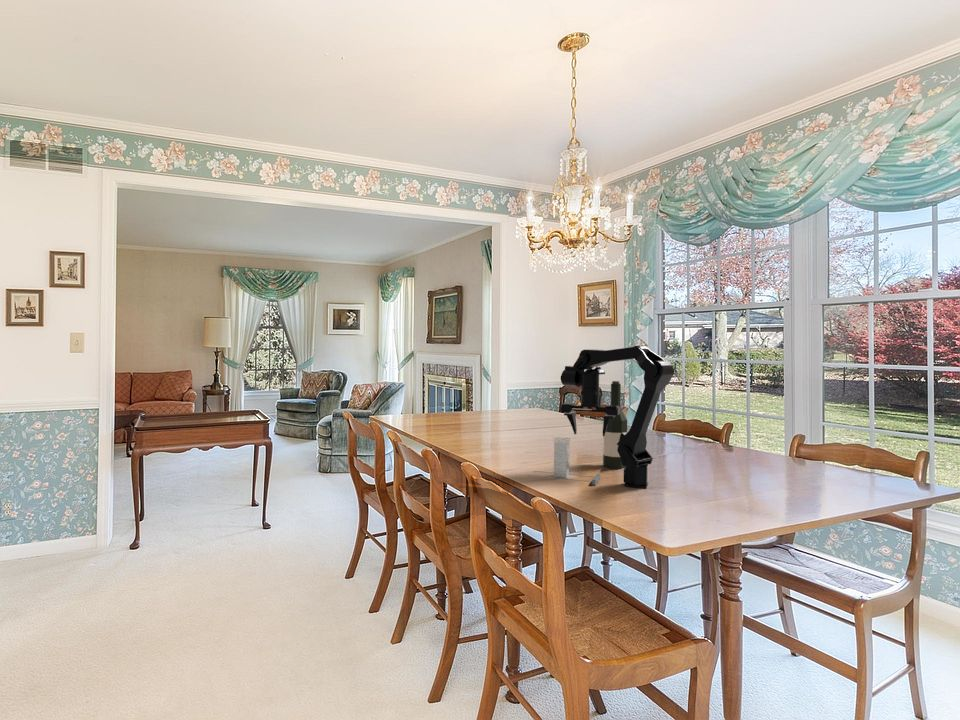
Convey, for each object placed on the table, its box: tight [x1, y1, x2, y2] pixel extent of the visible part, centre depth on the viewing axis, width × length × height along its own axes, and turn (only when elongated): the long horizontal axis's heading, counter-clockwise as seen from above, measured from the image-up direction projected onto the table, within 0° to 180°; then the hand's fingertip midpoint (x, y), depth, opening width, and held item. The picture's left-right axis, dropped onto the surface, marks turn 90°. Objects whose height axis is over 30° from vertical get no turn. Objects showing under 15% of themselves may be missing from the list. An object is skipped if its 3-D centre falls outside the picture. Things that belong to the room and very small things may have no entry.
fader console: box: [526, 470, 601, 486], centre depth 177 cm, size 23×9×2 cm, turn 68°
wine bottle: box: [602, 380, 628, 470], centre depth 195 cm, size 8×8×30 cm
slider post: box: [552, 436, 571, 479], centre depth 177 cm, size 4×4×12 cm
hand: (589, 435), depth 183 cm, fingers open, 9 cm apart
